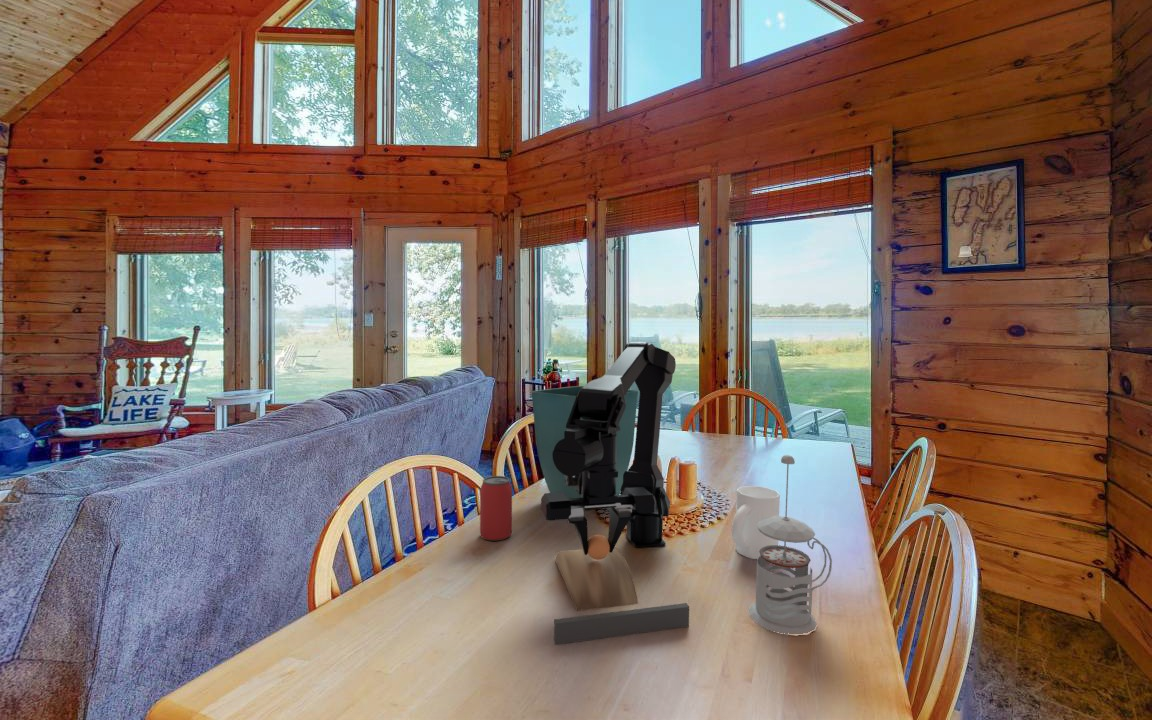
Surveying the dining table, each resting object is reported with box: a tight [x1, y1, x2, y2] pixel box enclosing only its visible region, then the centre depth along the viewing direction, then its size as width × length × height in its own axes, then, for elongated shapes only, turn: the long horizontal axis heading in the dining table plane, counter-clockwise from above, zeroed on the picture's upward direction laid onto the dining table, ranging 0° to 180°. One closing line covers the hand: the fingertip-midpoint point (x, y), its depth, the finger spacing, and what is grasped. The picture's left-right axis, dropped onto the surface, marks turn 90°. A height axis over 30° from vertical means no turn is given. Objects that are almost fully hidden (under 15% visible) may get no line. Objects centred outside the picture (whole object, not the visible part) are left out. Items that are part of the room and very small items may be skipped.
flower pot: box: [531, 385, 639, 498], centre depth 129 cm, size 20×20×28 cm
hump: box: [554, 546, 639, 612], centre depth 87 cm, size 10×22×22 cm, turn 14°
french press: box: [748, 454, 833, 634], centre depth 76 cm, size 10×12×25 cm
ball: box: [588, 534, 610, 560], centre depth 84 cm, size 4×4×4 cm
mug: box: [731, 485, 781, 561], centre depth 98 cm, size 8×12×12 cm
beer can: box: [479, 475, 513, 542], centre depth 105 cm, size 7×7×12 cm
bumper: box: [553, 602, 690, 645], centre depth 72 cm, size 20×1×3 cm, turn 104°
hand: (597, 552), depth 84 cm, fingers closed on ball, 4 cm apart
